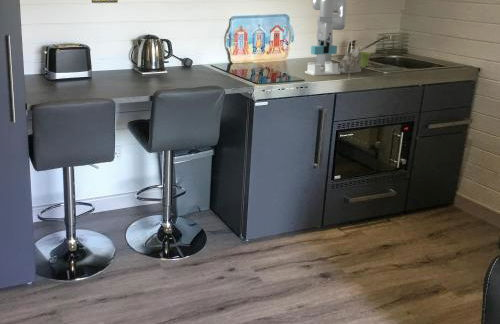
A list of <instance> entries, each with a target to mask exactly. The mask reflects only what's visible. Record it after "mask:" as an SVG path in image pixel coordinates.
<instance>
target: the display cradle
mask: <svg viewBox="0 0 500 324" xmlns="http://www.w3.org/2000/svg"><path fill="white" fill-rule="evenodd" d="M314 62H315V61H313V62H307V70H305V71H304V73H305V74H307V75H311V76H328V75H340V74H341V72H339V71H338V69H339V63H338V62H337V63H335V62H332V60H331V61H330V62H325V66H321V64H316V65H315V64H314ZM332 63H333V64H332Z"/></svg>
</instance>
